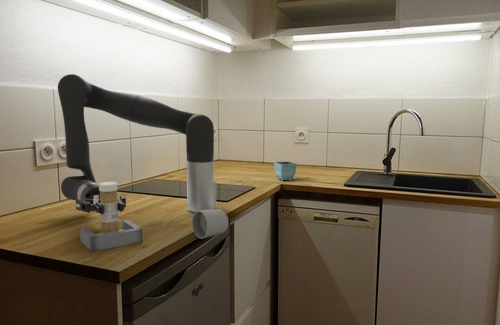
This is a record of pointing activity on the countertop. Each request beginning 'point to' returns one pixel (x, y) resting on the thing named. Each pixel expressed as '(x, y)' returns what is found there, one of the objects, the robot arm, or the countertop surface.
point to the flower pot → (285, 170)
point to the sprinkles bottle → (109, 207)
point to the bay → (111, 237)
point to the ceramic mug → (209, 223)
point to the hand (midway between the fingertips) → (112, 209)
